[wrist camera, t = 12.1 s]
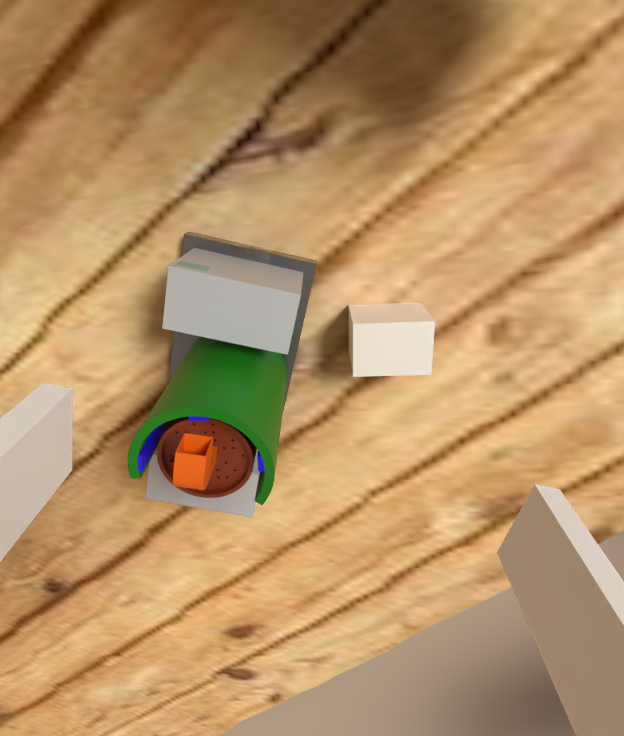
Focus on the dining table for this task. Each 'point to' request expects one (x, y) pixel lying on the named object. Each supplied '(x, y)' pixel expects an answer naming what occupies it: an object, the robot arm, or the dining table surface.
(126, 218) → the dining table surface
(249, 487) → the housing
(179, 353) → the rail plate
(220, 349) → the motor
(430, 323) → the loose relay
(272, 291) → the block
